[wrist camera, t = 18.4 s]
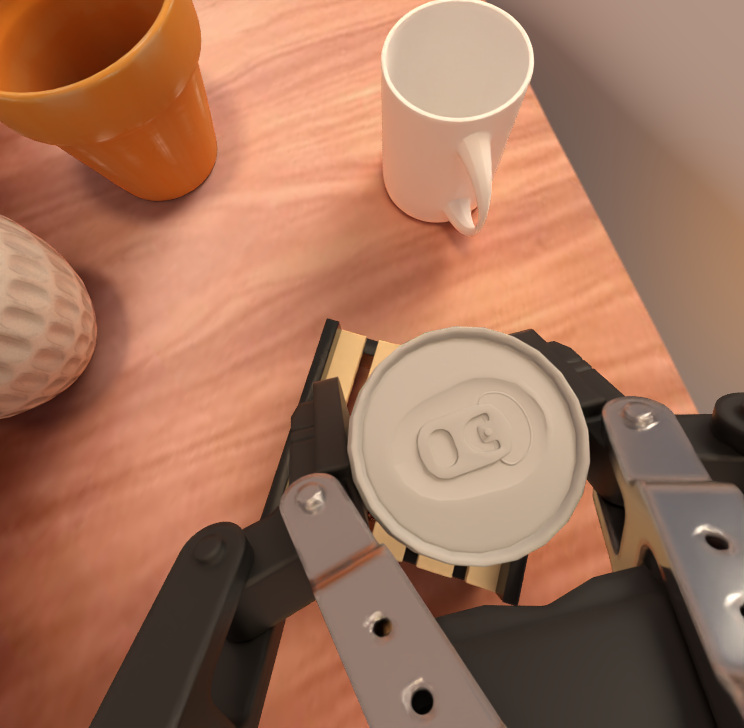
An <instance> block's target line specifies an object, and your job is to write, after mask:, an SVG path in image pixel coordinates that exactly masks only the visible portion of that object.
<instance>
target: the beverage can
mask: <svg viewBox="0 0 744 728" xmlns="http://www.w3.org/2000/svg"><path fill="white" fill-rule="evenodd" d="M347 452H348V457H349V462H350V467H351V472H352V478H353V482H354V484H355V486H356V488H357V490H358V492H359V494H360V496H361V498H362V501H363V503H364V505H365V507H366V509H367V510H368V511H369V513H370V514H371V515H372V516H373V517H374V518H375V520H376V521H377V522H378V523H379V524H380V526H381V527H382V528H383V529H384V530H385V532H386V533H387V534H388V535H390V536H391V537H393V538H394V539H396V540H397V541H398V542H400V543H401V544H403V545H404V546H406V547H407V548H409V549H410V550H411V551H413V552H414V553H417V554H420V555H423V556H426V557H428V558H431V559H434V560H437V561H439V562H442V563H446V564H450V565H458V566H473V567H488V566H493V565H498V564H502V563H507V562H512V561H516V560H518V559H520V558H522V557H524V556H526V555H528V554H529V553H531V552H533V551H535V550H537V549H538V548H540V547H542V546H544V545H546V544H547V542H548V541H549V540H550V539H551V538H552V537H553V536H554V535H555V534H556V533H557V532H558V531H559V530H560V529H561V528H562V527H563V526H564V525H565V524H566V523H567V522H568V521H569V519H570V517H571V515H572V513H573V512H574V510H575V508H576V506H577V504H578V502H579V500H580V498H581V497H582V495H583V492H584V487H585V483H586V478H587V474H588V469H589V465H590V452H589V435H588V428H587V425H586V422H585V418H584V415H583V412H582V409H581V406H580V403H579V400H578V398H577V397H576V395H575V393H574V392H573V390H572V389H571V387H570V385H569V384H568V382H567V381H566V379H565V378H564V376H563V374H562V373H561V372H560V371H559V370H558V369H557V368H556V367H555V366H554V365H553V364H552V363H551V362H550V361H549V360H548V359H547V358H546V357H545V356H544V355H543V354H541V353H540V352H539V351H538V350H536V349H534V348H533V347H531V346H529V345H527V344H526V343H524V342H522V341H521V340H519V339H517V338H515V337H514V336H511V335H508V334H504V333H501V332H497V331H494V330H491V329H487V328H483V327H458V326H454V327H449V328H444V329H440V330H435V331H430V332H426V333H424V334H422V335H420V336H418V337H416V338H414V339H412V340H410V341H408V342H406V343H404V344H402V345H400V346H399V347H398V348H397V349H395V350H394V351H393V352H392V353H391V354H390V355H389V356H387V357H386V358H385V359H384V360H383V361H382V362H381V363H379V364H378V366H377V367H376V368H375V369H374V370H373V372H372V373H371V375H370V376H369V378H368V379H367V381H366V382H365V384H364V385H363V387H362V388H361V390H360V391H359V393H358V396H357V399H356V402H355V405H354V408H353V410H352V413H351V416H350V419H349V431H348V445H347Z"/></svg>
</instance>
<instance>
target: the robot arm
mask: <svg viewBox="0 0 744 728" xmlns="http://www.w3.org/2000/svg"><path fill="white" fill-rule="evenodd" d="M508 335H511V336H514V337H515V338H517V339H519V340H521V341H522V342H524V343H526V344H527V345H529V346H531V347H533V348H534V349H536V350H538V351H539V352H540V353H541V354H543V355H544V356H545V357H546V358H547V359H548V360H549V361H550V362H551V363H552V364H553V365H554V366H555V367H556V368H557V369H558V370H559V371H560V372H561V373H562V374H563V376H564V378H565V379H566V381H567V382H568V384H569V385H570V387H571V389H572V390H573V392H574V393H575V395H576V397H577V398H578V400H579V403H580V406H581V409H582V412H583V415H584V418H585V422H586V425H587V428H588V435H589V452H590V465H589V469H588V474H587V478H586V479H587V480H588V481H589V483H590V484H591V485H592V487H593V500H594V504H595V507H596V511H597V515H598V518H599V522H600V525H601V529H602V533H603V536H604V540H605V544H606V547H607V551H608V554H609V558H610V562H611V566H612V573H608V574H605V575H601V576H597V577H593V578H591V579H590V580H588V581H586V582H585V583H583V584H581V585H580V586H578V587H577V588H575V589H573V590H572V591H570V592H568V593H567V594H565V595H564V596H562V597H560V598H559V599H557V600H555V601H554V602H552V603H550V604H548V605H545V606H503V605H483V606H479V607H475V608H471V609H468V610H464V611H460V612H456V613H452V614H448V615H444V616H440V617H436V618H434V617H433V615H432V614H431V612H430V610H429V609H428V607H427V606H426V604H425V603H424V601H423V600H422V598H421V597H420V595H419V594H418V592H417V591H416V589H415V588H414V586H413V585H412V583H411V582H410V580H409V578H408V577H407V575H406V574H405V572H404V571H403V569H402V568H401V566H400V565H399V563H398V562H397V560H396V559H395V557H394V556H393V554H392V553H391V551H390V550H389V549H388V547H387V546H386V545H385V544H384V543H381V544H379V543H378V541H377V540H376V539H375V537H374V535H373V534H372V532H371V531H370V528H369V521H368V515H367V509H366V507H365V505H364V503H363V501H362V498H361V496H360V494H359V492H358V490H357V488H356V486H355V484H354V482H353V478H352V472H351V467H350V462H349V457H348V452H347V445H348V431H349V419H350V415H349V412H348V408H347V405H346V401H345V398H344V394H343V391H342V387H341V384H340V381H339V378H338V376H337V377H333V378H329V379H325V380H321V381H317V382H313V401H309V402H305V403H301V404H298V406H297V408H296V409H295V411H294V413H293V415H292V416H291V433H290V442H291V444H290V462H289V486H288V488H287V489H286V490H285V492H284V493H283V495H282V497H281V500H280V505H279V506H278V507H277V508H276V509H275V510H274V511H273V512H272V513H270V514H269V515H268V516H266V517H265V518H263V519H261V520H259V521H257V522H256V523H254V524H252V525H250V526H248V527H246V528H244V529H243V530H242V529H241V528H240V527H239V526H238V525H236V524H234V523H231V522H219V523H215V524H212V525H210V526H207V527H205V528H203V529H202V530H200V531H199V532H197V533H196V534H195V535H194V536H192V537H191V538H190V539H189V540H188V541H187V543H186V544H185V545H184V547H183V548H182V550H181V551H180V553H179V555H178V557H177V559H176V561H175V563H174V565H173V567H172V569H171V571H170V572H169V574H168V576H167V578H166V580H165V582H164V584H163V586H162V588H161V590H160V592H159V594H158V596H157V597H156V599H155V601H154V603H153V605H152V607H151V609H150V611H149V613H148V615H147V617H146V619H145V620H144V622H143V624H142V626H141V628H140V630H139V632H138V634H137V636H136V638H135V640H134V642H133V644H132V645H131V647H130V649H129V651H128V653H127V655H126V657H125V659H124V661H123V663H122V665H121V667H120V669H119V670H118V672H117V674H116V676H115V678H114V680H113V682H112V684H111V686H110V688H109V690H108V692H107V694H106V695H105V697H104V699H103V701H102V703H101V705H100V707H99V709H98V711H97V713H96V715H95V717H94V719H93V720H92V722H91V724H90V726H89V728H258V725H259V721H260V717H261V713H262V709H263V705H264V701H265V698H266V694H267V690H268V686H269V682H270V678H271V674H272V671H273V667H274V663H275V659H276V655H277V651H278V647H279V644H280V640H281V636H282V632H283V628H284V624H285V619H286V618H287V617H289V616H291V615H292V614H294V613H295V612H297V611H299V610H300V609H302V608H303V607H305V606H307V605H308V604H310V603H311V602H313V601H315V600H316V601H317V603H318V606H319V608H320V610H321V613H322V615H323V617H324V620H325V622H326V625H327V627H328V629H329V632H330V634H331V637H332V639H333V641H334V644H335V646H336V648H337V651H338V653H339V656H340V658H341V660H342V663H343V665H344V667H345V670H346V672H347V675H348V677H349V679H350V682H351V684H352V687H353V689H354V691H355V694H356V696H357V698H358V701H359V703H360V706H361V708H362V710H363V713H364V715H365V717H366V720H367V722H368V725H369V727H370V728H744V393H732V394H727V395H725V396H722V397H721V398H719V399H718V400H717V402H716V404H715V407H714V410H713V414H688V415H674V414H673V412H672V411H671V410H670V409H669V408H667V407H666V406H665V405H663V404H661V403H659V402H657V401H654V400H651V399H648V398H643V397H636V396H626V397H625V396H624V395H623V394H622V393H621V392H620V391H618V390H617V389H616V388H615V387H614V386H613V385H612V384H611V383H609V382H608V381H607V380H606V379H605V378H604V377H603V376H602V375H600V374H599V373H598V372H597V371H596V370H595V369H592V368H591V366H590V365H589V364H588V363H587V362H586V361H585V360H582V358H581V357H580V356H579V355H578V354H577V353H576V352H575V351H574V350H572V349H571V348H569V347H567V346H565V345H562V344H560V343H557V342H555V341H552V342H548V343H547V342H546V341H544V340H543V339H542V338H541V337H540V336H539V335H538V334H537V333H536V332H535V331H534V330H532V329H528V330H524V331H520V332H516V333H512V334H508Z"/></svg>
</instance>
